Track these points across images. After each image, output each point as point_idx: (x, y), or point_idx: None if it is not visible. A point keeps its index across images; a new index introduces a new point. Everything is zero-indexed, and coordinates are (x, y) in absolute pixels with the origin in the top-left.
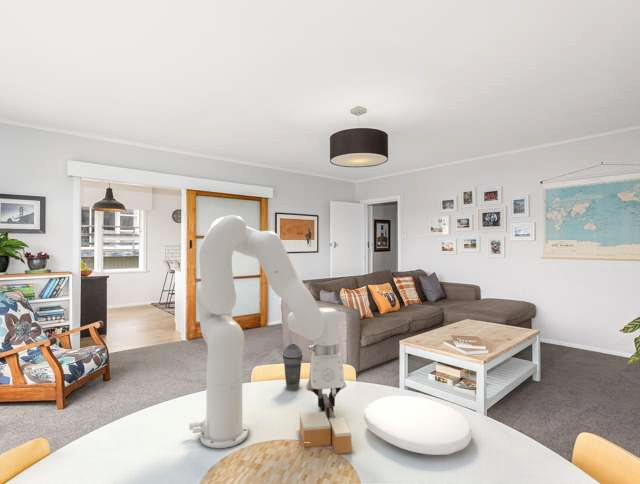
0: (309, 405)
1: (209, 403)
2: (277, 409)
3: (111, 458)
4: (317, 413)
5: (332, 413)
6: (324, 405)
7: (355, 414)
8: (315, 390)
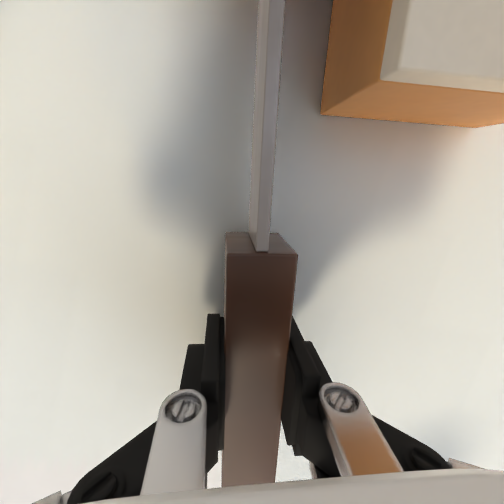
0: None
1: None
2: (478, 395)
3: None
4: (497, 32)
5: (271, 125)
6: (288, 319)
7: (51, 281)
8: (431, 468)
